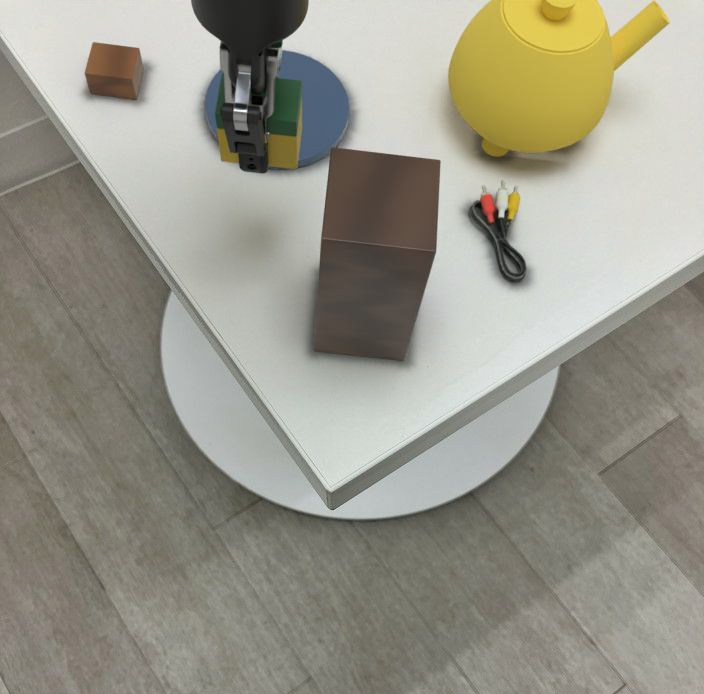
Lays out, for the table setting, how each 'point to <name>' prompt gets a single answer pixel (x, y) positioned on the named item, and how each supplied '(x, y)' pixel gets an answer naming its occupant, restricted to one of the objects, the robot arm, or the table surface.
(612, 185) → the table surface
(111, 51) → the brown square block
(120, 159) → the table surface
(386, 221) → the tall dark wooden block
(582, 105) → the teapot
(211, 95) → the plate
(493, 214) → the composite cable
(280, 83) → the sponge
